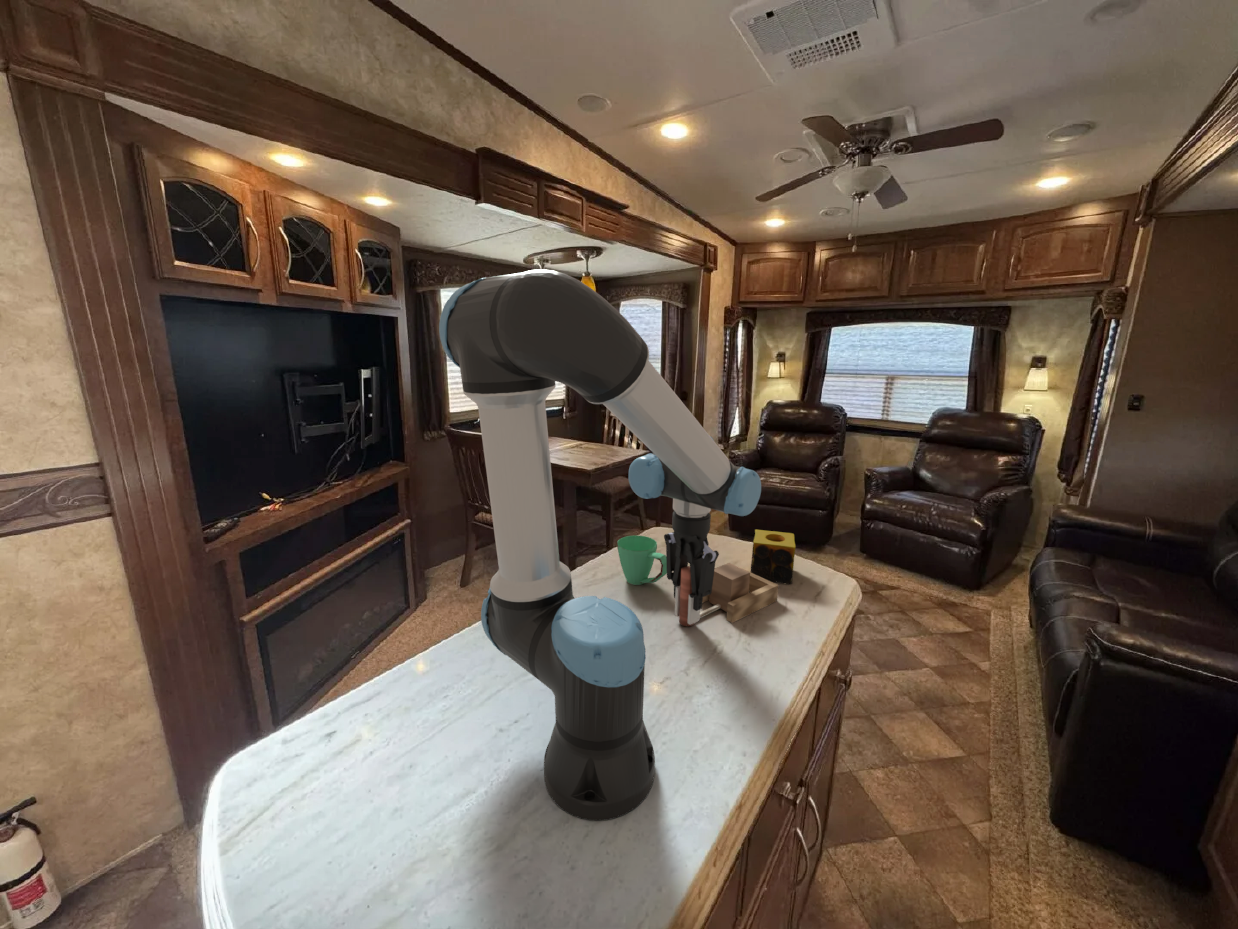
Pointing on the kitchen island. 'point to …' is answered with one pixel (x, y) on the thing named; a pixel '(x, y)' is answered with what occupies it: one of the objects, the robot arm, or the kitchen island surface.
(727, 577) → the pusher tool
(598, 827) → the kitchen island surface
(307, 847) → the kitchen island surface
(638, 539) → the mug
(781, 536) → the toy block
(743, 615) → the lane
